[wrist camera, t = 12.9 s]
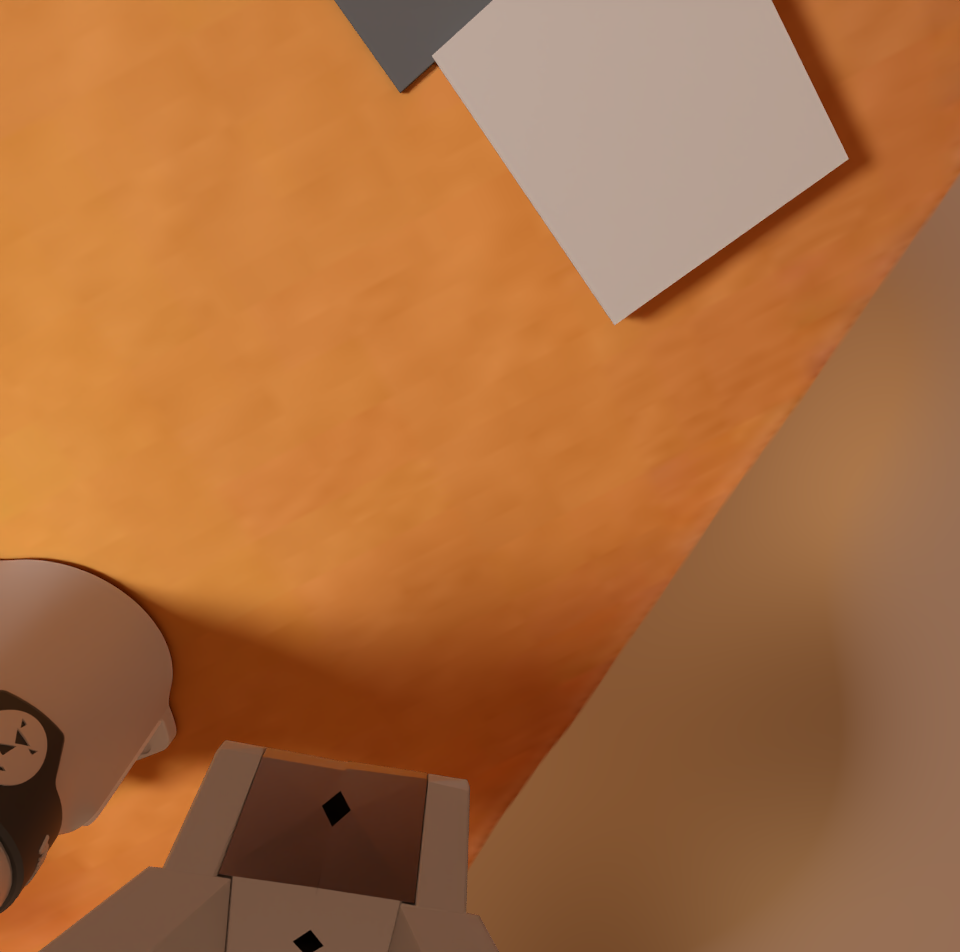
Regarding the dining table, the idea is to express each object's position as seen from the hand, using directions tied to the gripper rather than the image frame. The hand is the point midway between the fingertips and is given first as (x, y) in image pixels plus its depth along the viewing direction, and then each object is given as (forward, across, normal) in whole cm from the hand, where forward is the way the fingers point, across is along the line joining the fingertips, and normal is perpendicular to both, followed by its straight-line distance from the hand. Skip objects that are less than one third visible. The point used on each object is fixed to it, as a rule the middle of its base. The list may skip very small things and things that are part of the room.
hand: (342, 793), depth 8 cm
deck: (+29, -6, -10) cm, 32 cm away
